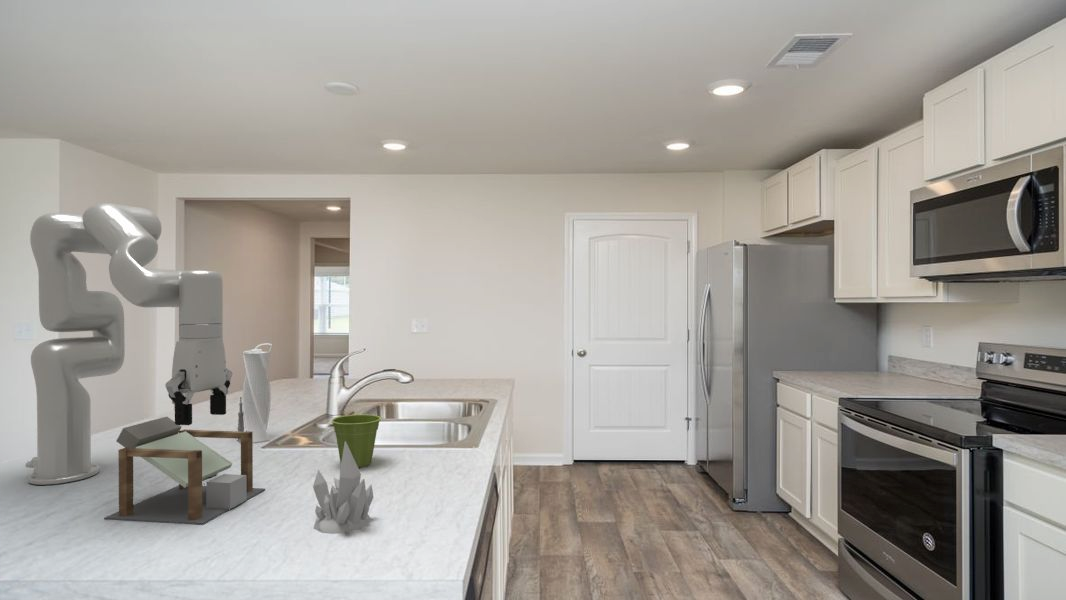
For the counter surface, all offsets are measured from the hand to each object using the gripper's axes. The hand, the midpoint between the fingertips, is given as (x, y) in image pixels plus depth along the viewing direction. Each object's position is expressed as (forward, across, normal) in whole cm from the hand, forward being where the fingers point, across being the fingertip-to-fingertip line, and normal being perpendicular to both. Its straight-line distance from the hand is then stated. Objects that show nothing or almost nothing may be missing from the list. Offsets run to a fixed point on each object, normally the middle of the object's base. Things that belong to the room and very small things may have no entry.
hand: (201, 419), depth 115 cm
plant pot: (+17, -30, +18) cm, 39 cm away
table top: (+17, 0, -2) cm, 17 cm away
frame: (+17, 0, -3) cm, 17 cm away
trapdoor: (+8, 0, -6) cm, 10 cm away
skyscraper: (+17, -49, -20) cm, 56 cm away
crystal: (+17, +5, +32) cm, 36 cm away
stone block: (+14, 0, +3) cm, 14 cm away
